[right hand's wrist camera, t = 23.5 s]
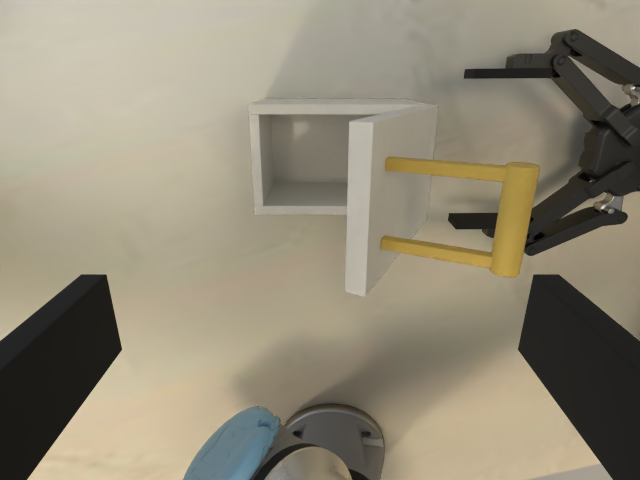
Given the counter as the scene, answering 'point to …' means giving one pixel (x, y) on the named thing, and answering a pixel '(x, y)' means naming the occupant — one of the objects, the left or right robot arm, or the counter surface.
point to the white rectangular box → (420, 198)
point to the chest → (306, 152)
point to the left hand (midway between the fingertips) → (459, 152)
